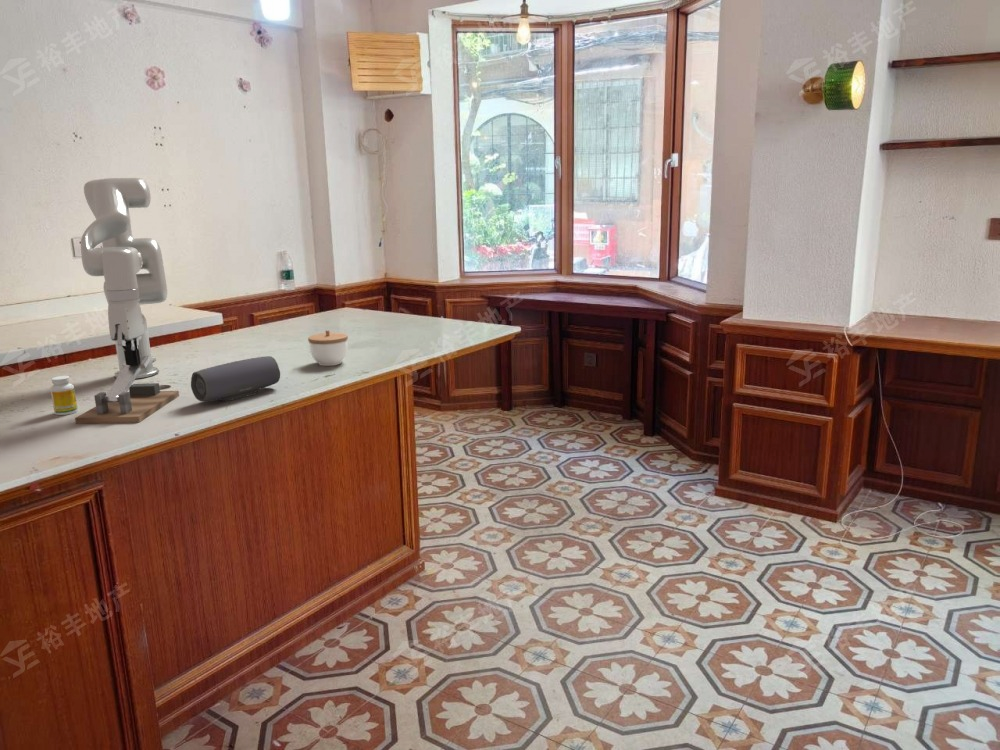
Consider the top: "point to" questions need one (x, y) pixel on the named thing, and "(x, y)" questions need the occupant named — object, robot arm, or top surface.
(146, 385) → the catch block
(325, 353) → the lidded bowl
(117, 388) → the lever
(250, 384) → the bluetooth speaker
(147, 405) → the walnut board
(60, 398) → the supplement bottle
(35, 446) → the top surface
